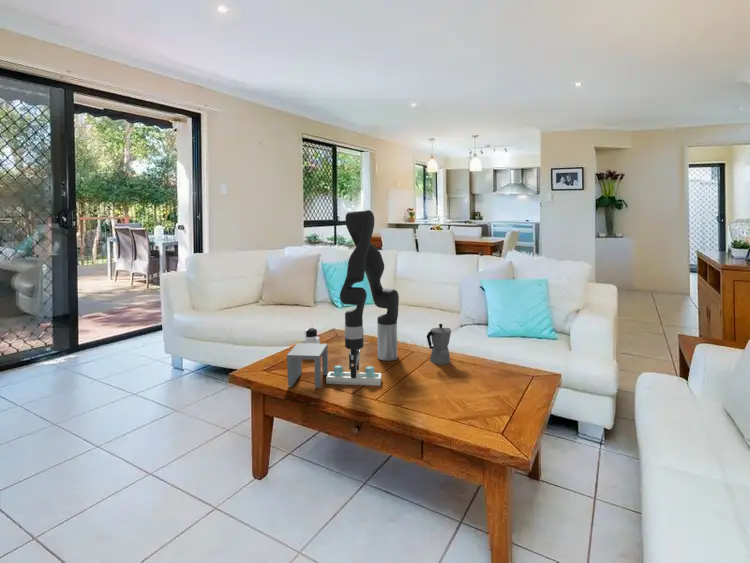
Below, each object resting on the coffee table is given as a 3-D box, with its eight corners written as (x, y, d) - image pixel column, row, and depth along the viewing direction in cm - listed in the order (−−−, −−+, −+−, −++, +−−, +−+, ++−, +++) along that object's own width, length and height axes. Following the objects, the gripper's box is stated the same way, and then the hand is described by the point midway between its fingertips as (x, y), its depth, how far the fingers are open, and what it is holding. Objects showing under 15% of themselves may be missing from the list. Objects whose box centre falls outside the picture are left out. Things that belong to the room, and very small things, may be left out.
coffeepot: (442, 356, 216) (442, 319, 213) (457, 361, 208) (458, 323, 206) (419, 363, 206) (419, 325, 203) (434, 368, 199) (435, 329, 196)
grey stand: (328, 373, 193) (327, 343, 191) (320, 388, 177) (319, 355, 175) (298, 373, 194) (297, 343, 192) (288, 387, 179) (286, 355, 176)
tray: (381, 379, 186) (381, 365, 185) (380, 385, 180) (380, 370, 179) (329, 378, 188) (328, 364, 187) (326, 383, 182) (326, 369, 181)
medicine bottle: (320, 350, 225) (319, 327, 223) (316, 355, 218) (316, 331, 216) (306, 350, 226) (305, 327, 224) (302, 354, 219) (301, 330, 217)
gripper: (361, 341, 174) (362, 380, 176) (365, 331, 188) (365, 367, 190) (342, 341, 174) (343, 380, 177) (347, 330, 188) (348, 367, 191)
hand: (354, 373), depth 184 cm, fingers open, 8 cm apart
